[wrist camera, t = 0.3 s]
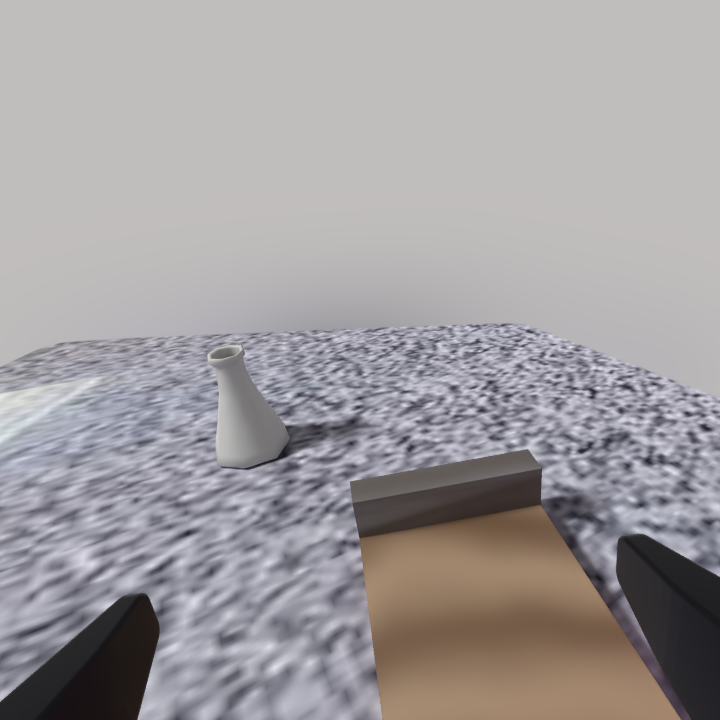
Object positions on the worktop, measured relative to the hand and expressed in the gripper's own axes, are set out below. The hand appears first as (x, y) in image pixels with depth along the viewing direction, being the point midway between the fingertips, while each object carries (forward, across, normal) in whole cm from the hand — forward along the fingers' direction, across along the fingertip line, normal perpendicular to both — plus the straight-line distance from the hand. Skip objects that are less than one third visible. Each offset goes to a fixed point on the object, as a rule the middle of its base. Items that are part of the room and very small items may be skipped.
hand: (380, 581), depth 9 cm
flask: (+31, +12, +14) cm, 36 cm away
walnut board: (+10, -4, +16) cm, 19 cm away
